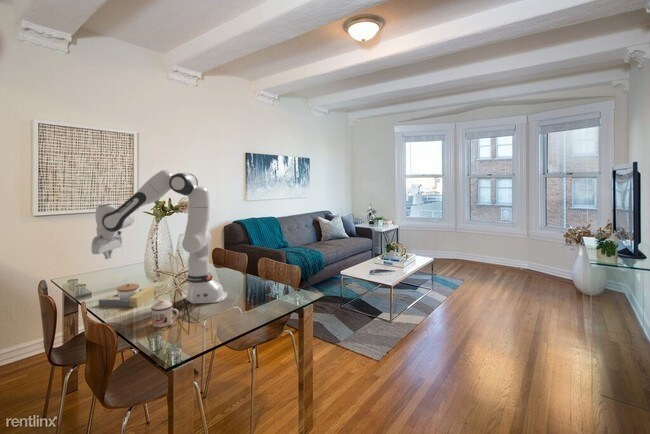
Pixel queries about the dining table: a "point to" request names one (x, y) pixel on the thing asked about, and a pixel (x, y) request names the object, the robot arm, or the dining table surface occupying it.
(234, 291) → the dining table surface
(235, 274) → the dining table surface
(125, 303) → the grey and yellow tray
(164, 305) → the teacup with lid
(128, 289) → the lidded jar
